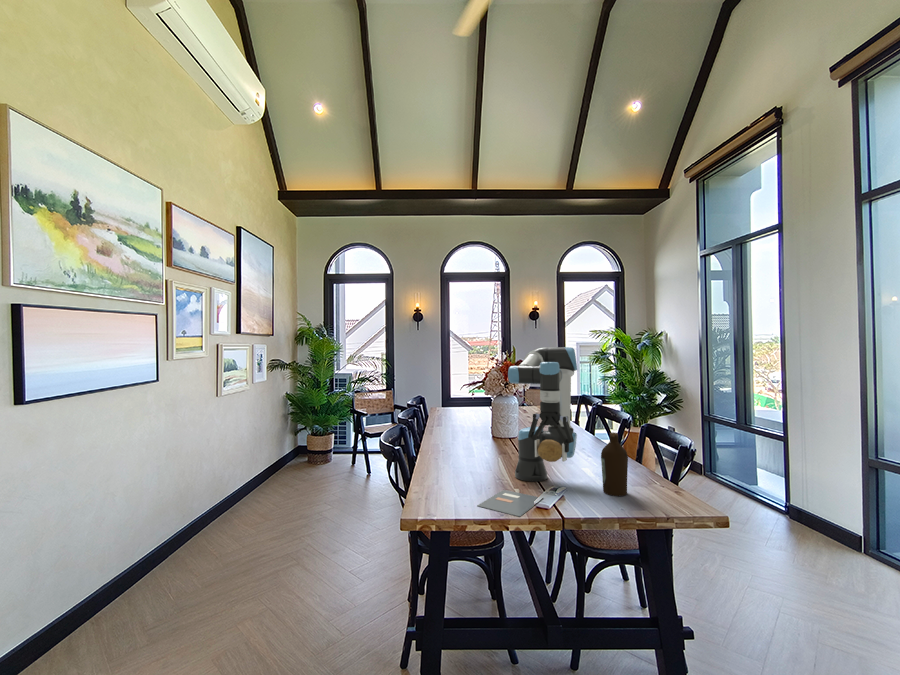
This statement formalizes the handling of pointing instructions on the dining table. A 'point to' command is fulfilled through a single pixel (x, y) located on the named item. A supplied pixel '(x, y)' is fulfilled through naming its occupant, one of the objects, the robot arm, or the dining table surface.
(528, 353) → the robot arm
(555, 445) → the potato
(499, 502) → the tile
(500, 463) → the dining table surface
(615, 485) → the olive oil
